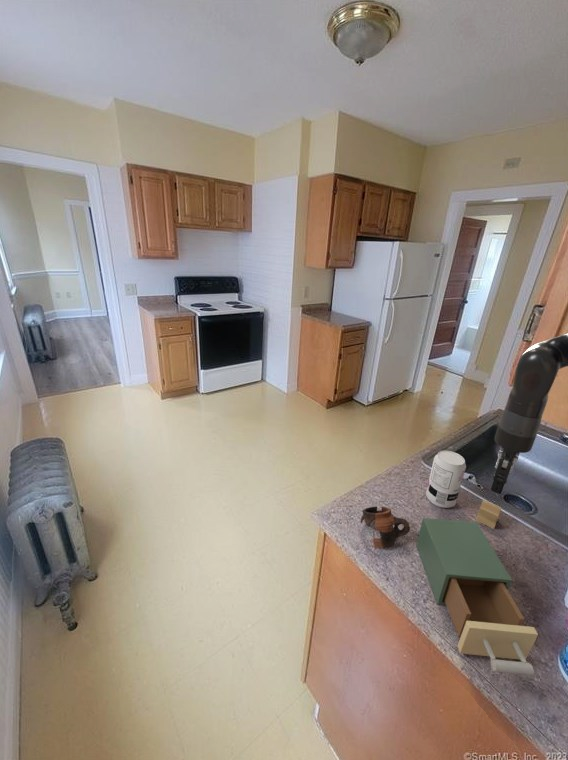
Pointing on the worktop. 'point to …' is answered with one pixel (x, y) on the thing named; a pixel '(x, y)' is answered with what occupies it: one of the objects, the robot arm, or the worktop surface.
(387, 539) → the pottery mug
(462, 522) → the cabinet
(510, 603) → the drawer
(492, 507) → the block
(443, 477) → the supplement can
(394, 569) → the worktop surface
